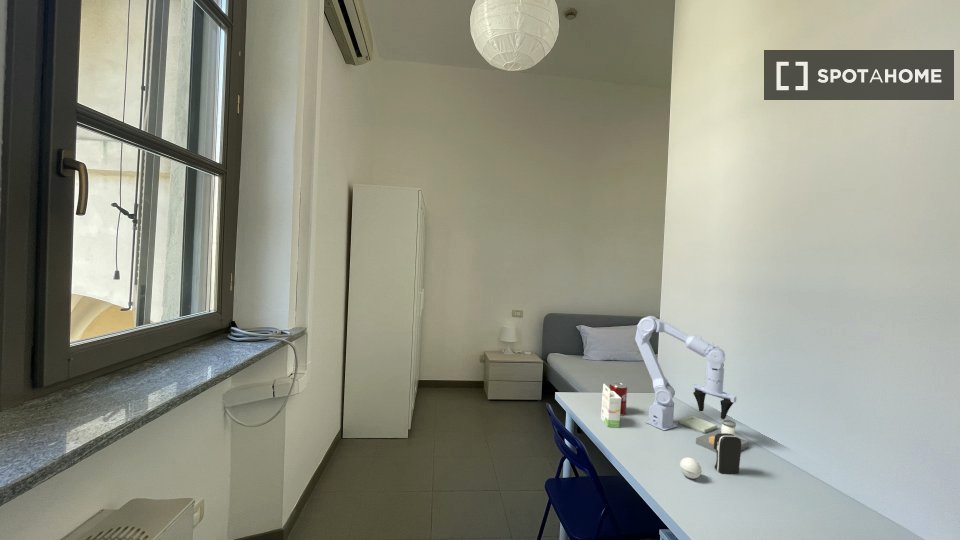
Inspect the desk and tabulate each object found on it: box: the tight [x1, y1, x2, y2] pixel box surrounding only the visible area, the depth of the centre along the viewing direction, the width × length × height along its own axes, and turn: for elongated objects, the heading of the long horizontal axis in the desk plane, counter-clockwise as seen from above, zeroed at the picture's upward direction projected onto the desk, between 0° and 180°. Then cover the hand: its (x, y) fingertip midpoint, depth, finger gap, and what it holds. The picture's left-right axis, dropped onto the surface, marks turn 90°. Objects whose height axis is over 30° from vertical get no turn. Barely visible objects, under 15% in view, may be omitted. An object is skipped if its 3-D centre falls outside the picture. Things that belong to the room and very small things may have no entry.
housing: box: [695, 429, 749, 454], centre depth 128 cm, size 16×10×2 cm, turn 121°
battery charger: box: [714, 433, 742, 474], centre depth 111 cm, size 7×4×11 cm, turn 94°
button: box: [709, 436, 715, 444], centre depth 125 cm, size 3×3×2 cm
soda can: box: [608, 382, 628, 416], centre depth 152 cm, size 7×7×12 cm
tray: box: [678, 415, 718, 435], centre depth 143 cm, size 10×10×2 cm
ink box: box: [600, 383, 621, 429], centre depth 141 cm, size 9×5×15 cm, turn 179°
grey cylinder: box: [720, 418, 737, 436], centre depth 130 cm, size 4×4×8 cm
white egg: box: [679, 456, 708, 479], centre depth 105 cm, size 8×6×6 cm
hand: (711, 414), depth 133 cm, fingers open, 7 cm apart
